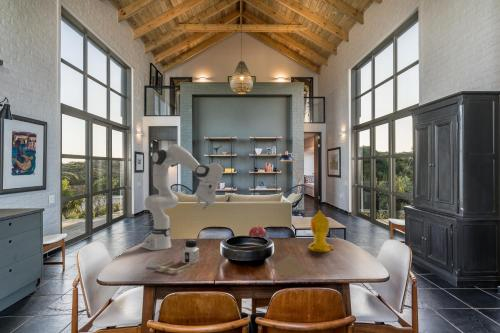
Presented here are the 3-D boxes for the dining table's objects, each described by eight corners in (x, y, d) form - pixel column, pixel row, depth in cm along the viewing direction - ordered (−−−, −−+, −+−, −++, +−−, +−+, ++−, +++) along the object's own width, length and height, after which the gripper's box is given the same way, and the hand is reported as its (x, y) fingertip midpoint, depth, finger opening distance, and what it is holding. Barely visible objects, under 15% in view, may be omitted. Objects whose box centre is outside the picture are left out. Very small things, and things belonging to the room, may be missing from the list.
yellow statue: (332, 245, 219) (332, 208, 219) (333, 254, 195) (333, 212, 196) (309, 243, 223) (309, 207, 224) (307, 252, 200) (307, 211, 200)
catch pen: (156, 270, 161) (156, 266, 161) (172, 264, 173) (172, 260, 173) (176, 274, 155) (176, 270, 155) (191, 267, 167) (191, 263, 167)
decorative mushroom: (257, 242, 226) (257, 223, 226) (270, 245, 217) (270, 225, 217) (245, 245, 216) (245, 225, 217) (258, 249, 207) (258, 228, 207)
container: (194, 264, 173) (194, 242, 174) (182, 263, 175) (182, 241, 175) (199, 260, 181) (199, 239, 181) (187, 259, 182) (187, 238, 183)
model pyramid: (295, 264, 174) (295, 248, 174) (311, 274, 158) (311, 256, 158) (270, 267, 168) (270, 250, 168) (284, 278, 152) (284, 259, 152)
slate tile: (146, 269, 165) (146, 266, 165) (151, 266, 171) (151, 263, 171) (156, 270, 164) (156, 267, 164) (161, 266, 169) (161, 264, 170)
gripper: (211, 190, 191) (203, 210, 187) (198, 180, 173) (189, 202, 169) (219, 193, 188) (212, 213, 185) (207, 183, 170) (198, 205, 166)
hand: (201, 207), depth 177 cm, fingers open, 8 cm apart
